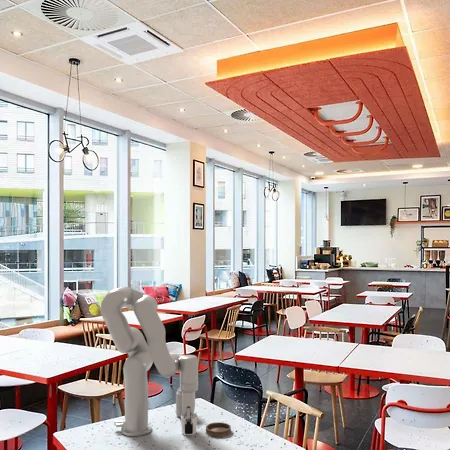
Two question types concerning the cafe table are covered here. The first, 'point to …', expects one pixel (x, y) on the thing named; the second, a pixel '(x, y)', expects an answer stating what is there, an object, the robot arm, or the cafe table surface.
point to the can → (179, 403)
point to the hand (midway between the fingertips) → (189, 429)
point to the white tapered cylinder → (194, 421)
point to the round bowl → (218, 429)
